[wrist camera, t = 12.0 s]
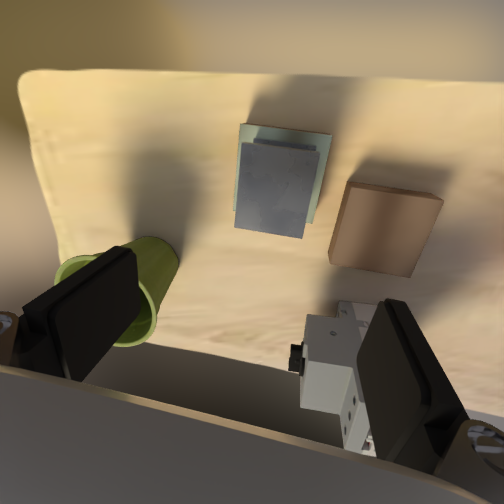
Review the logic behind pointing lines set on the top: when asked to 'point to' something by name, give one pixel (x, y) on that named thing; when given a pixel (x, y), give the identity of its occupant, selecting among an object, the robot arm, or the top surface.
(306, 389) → the circuit breaker
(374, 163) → the top surface
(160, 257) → the plant pot
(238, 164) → the stand
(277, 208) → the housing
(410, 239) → the stand
